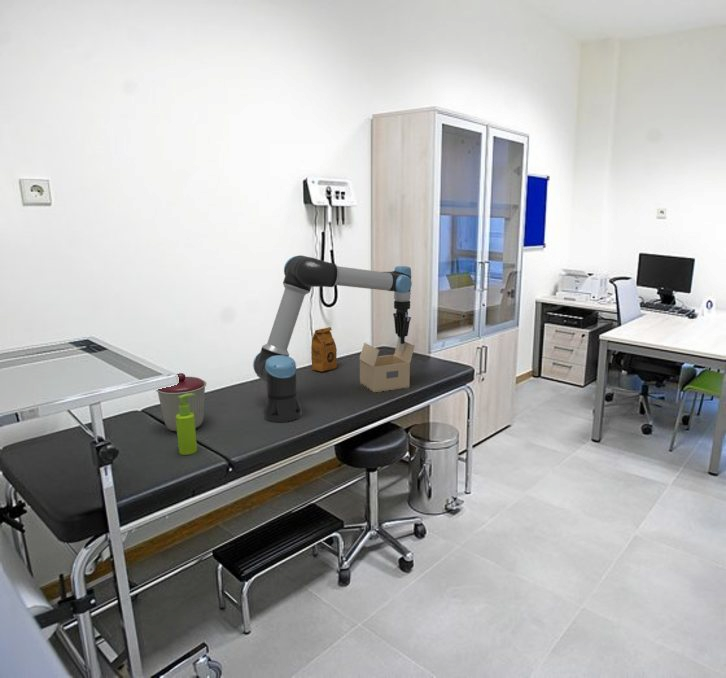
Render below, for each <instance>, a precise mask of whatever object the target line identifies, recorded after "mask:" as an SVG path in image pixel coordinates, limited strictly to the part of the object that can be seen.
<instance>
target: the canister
mask: <svg viewBox="0 0 726 678" xmlns="http://www.w3.org/2000/svg"><path fill="white" fill-rule="evenodd" d="M176 375H178V377H179V383H178V384H177V385H174V386H171V387H166V388H162V389H158V390H155V391H156V392H157V394H158V400H159V403H160V405H159V406H160V408H161V414H162V416H163V420H164V424H165V426H166V428H168V430H169V431H173V432H177V425H176V415H177V414H179V405H180V404H181V399H179V398H178V396H181V395H183V394H187V393H193V394H195V396H190V397H187V398H186V402H187V403H188V404H189V406H190V412H192V413H194V418H195V429H198V427H201V425H202V424H203V421H204V415H205V414H204V412H205V396H206V392H205V390H206V388H205V387H206V386H207V381H205V380H203V379H202V378H199V377H195V376H186V374H185V373H182V372H180V373H176Z"/></svg>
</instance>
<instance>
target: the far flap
mask: <svg viewBox="0 0 726 678" xmlns="http://www.w3.org/2000/svg"><path fill="white" fill-rule="evenodd" d="M414 349H415V345H414V344H412V343H410V342H407V341H405V344H404V350H400V351H399V350H398V340H397V341H396V346H395V350H394V354H393V355H395V356H397V357H399V358H402V359H404V360H406V361H408V362H410V363H411V362H412V357H413V354H414Z"/></svg>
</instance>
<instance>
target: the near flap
mask: <svg viewBox="0 0 726 678" xmlns="http://www.w3.org/2000/svg"><path fill="white" fill-rule="evenodd" d="M361 349H362V350H361V352H360V355H359V361H360V360H362V361H364V362H365V363H367V364H369V365H371V366H372V367H374V366H375V363H376V359H377V357H379V356H378V355H379V353H380V349H379V348H376V347H374V346H372V345H370V344H368V343H367V342H363V347H362V348H361Z"/></svg>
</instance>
